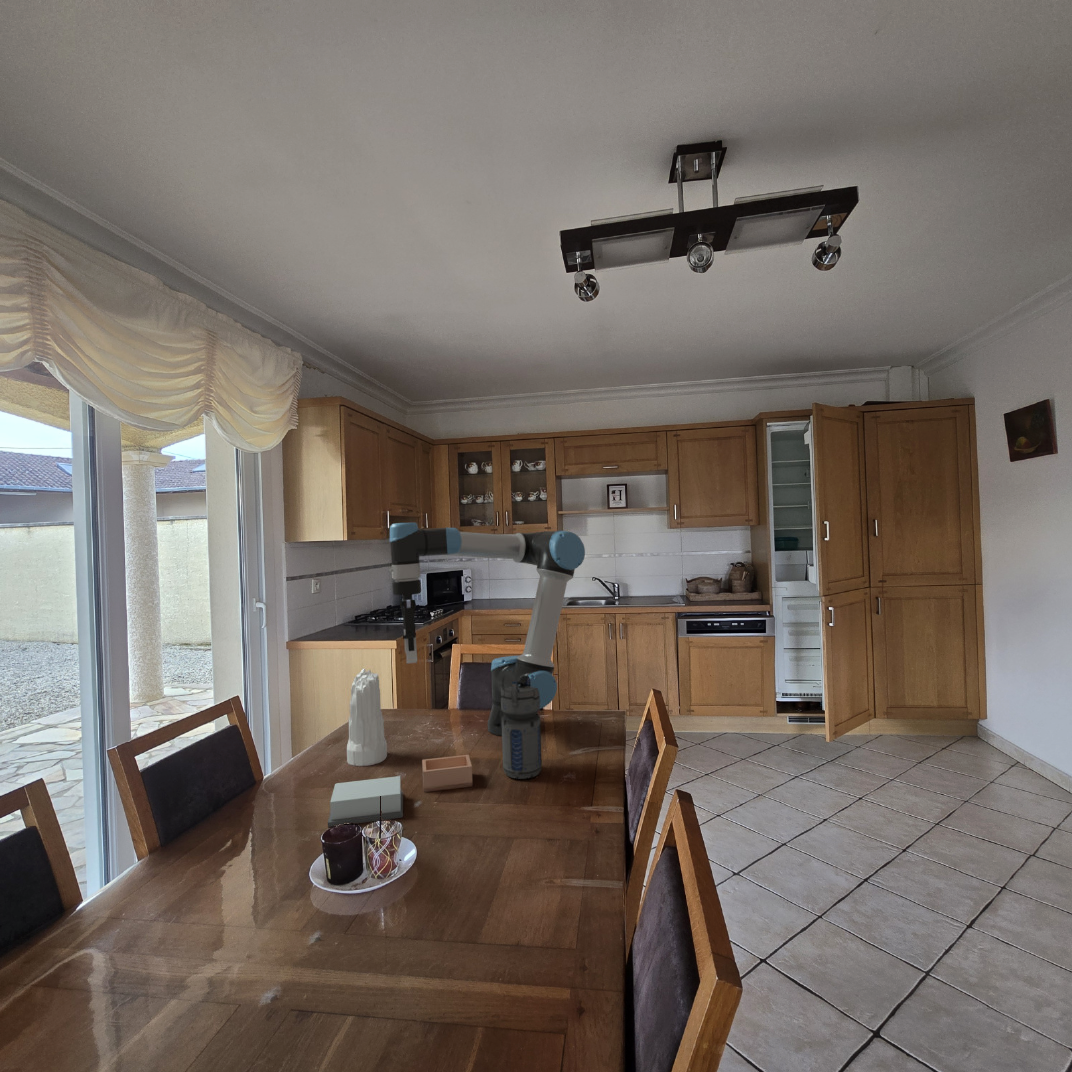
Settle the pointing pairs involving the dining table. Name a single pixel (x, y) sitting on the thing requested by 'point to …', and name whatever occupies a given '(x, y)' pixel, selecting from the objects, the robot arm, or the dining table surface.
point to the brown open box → (447, 773)
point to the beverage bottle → (521, 730)
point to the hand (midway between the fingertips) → (410, 657)
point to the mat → (368, 817)
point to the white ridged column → (366, 722)
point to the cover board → (365, 797)
